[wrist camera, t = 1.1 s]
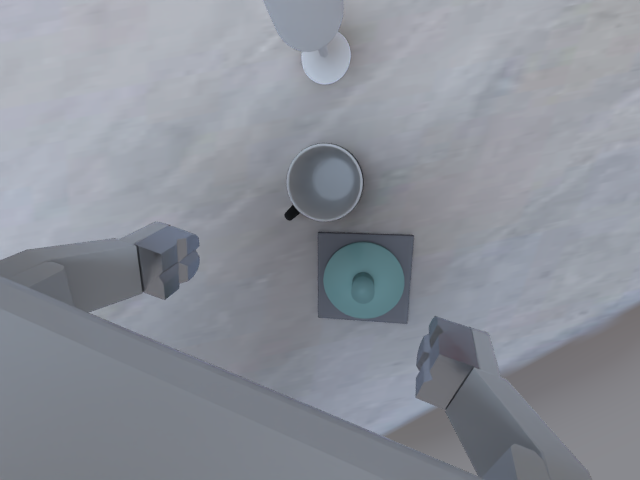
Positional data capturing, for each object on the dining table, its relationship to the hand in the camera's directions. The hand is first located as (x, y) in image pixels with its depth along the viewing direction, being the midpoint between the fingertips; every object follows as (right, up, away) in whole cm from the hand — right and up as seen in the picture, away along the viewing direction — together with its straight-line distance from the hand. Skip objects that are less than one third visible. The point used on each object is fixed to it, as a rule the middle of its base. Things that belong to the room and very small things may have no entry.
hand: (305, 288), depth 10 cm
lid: (+7, -4, +37) cm, 38 cm away
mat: (+7, -4, +38) cm, 38 cm away
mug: (+1, +10, +35) cm, 37 cm away
